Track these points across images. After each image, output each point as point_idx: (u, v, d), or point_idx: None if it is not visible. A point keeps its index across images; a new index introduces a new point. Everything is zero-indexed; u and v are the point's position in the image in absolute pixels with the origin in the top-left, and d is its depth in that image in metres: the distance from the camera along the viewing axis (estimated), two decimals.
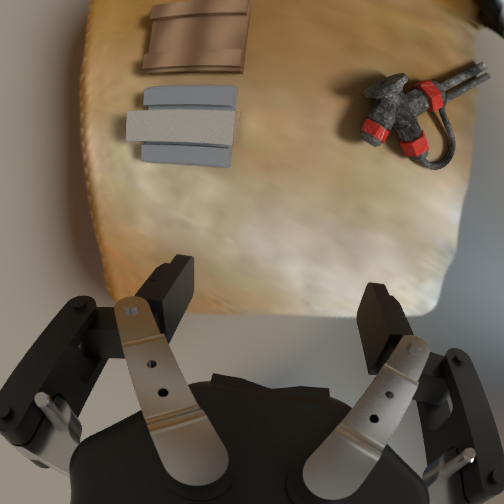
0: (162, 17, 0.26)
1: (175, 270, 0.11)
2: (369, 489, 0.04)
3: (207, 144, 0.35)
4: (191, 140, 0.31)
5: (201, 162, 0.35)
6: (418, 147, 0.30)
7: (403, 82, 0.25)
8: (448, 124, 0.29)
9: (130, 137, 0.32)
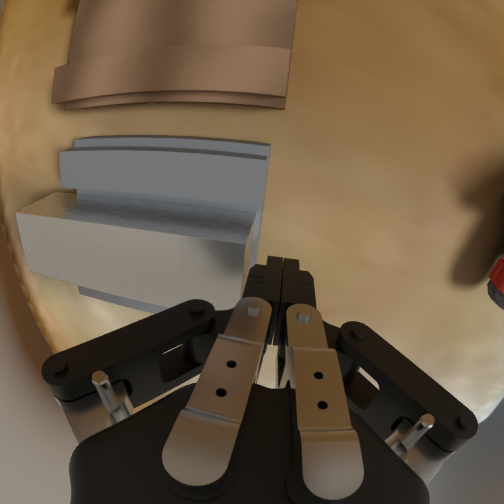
0: None
1: (275, 271, 0.12)
2: (369, 489, 0.04)
3: None
4: (142, 298, 0.14)
5: None
6: None
7: None
8: None
9: (33, 265, 0.14)
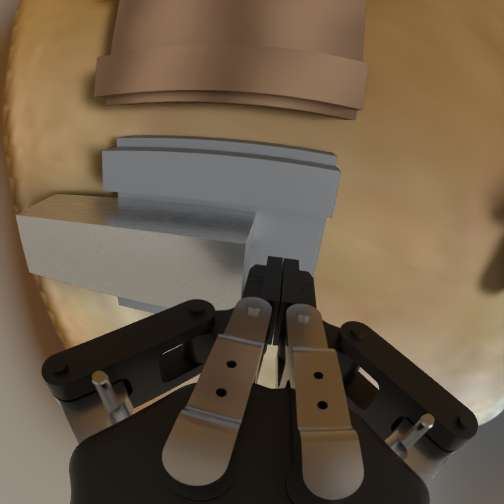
0: None
1: (275, 271, 0.12)
2: (369, 489, 0.04)
3: None
4: (143, 298, 0.14)
5: None
6: None
7: None
8: None
9: (33, 267, 0.14)
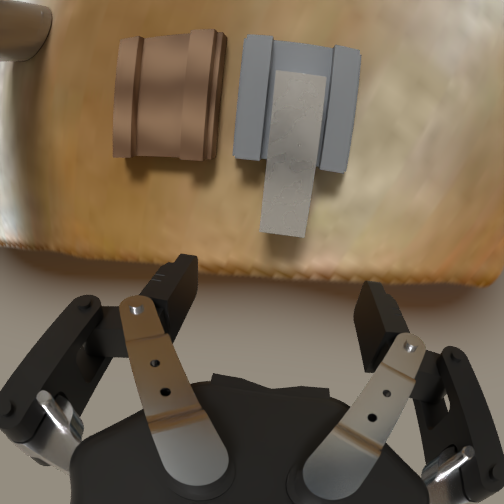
0: (131, 139, 0.25)
1: (179, 269, 0.11)
2: (369, 489, 0.04)
3: (328, 76, 0.22)
4: (317, 133, 0.21)
5: (354, 81, 0.20)
6: None
7: None
8: None
9: (300, 229, 0.25)
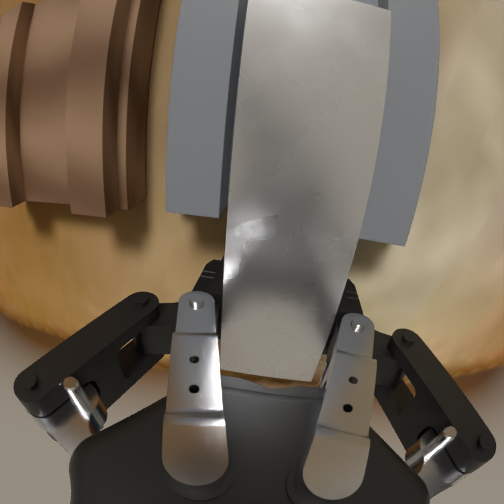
0: (10, 176, 0.12)
1: None
2: (369, 489, 0.04)
3: None
4: (367, 163, 0.07)
5: (435, 41, 0.07)
6: None
7: None
8: None
9: (303, 370, 0.11)
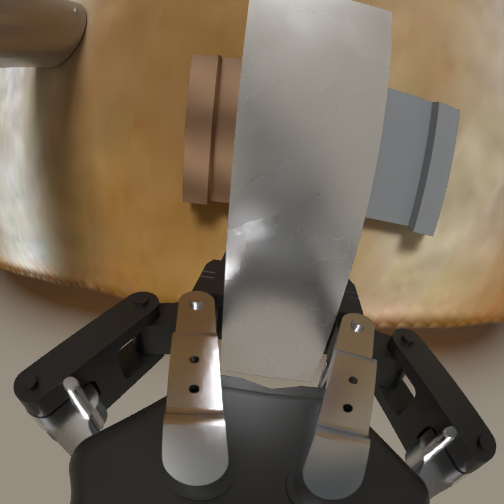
0: (208, 183, 0.24)
1: None
2: (369, 489, 0.04)
3: (426, 132, 0.20)
4: (368, 164, 0.07)
5: (453, 143, 0.18)
6: None
7: None
8: None
9: (304, 371, 0.11)
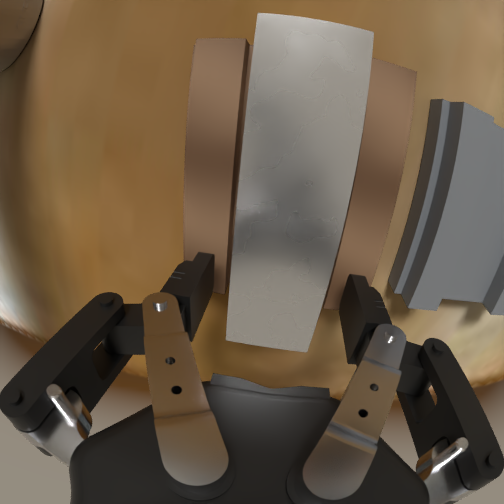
0: (226, 262, 0.15)
1: (199, 267, 0.12)
2: (369, 489, 0.04)
3: None
4: (351, 158, 0.09)
5: None
6: None
7: None
8: None
9: (300, 341, 0.13)
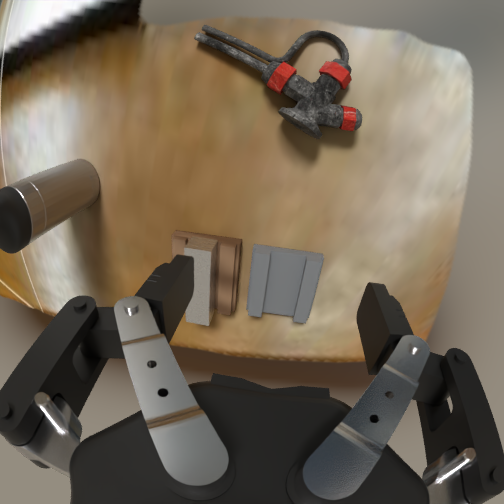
0: None
1: (175, 270, 0.11)
2: (369, 489, 0.04)
3: (301, 272, 0.45)
4: (208, 280, 0.42)
5: (315, 280, 0.44)
6: (341, 73, 0.30)
7: (294, 113, 0.31)
8: (294, 47, 0.30)
9: (206, 322, 0.46)
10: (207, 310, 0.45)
